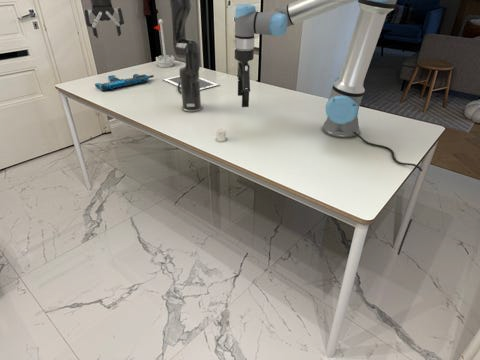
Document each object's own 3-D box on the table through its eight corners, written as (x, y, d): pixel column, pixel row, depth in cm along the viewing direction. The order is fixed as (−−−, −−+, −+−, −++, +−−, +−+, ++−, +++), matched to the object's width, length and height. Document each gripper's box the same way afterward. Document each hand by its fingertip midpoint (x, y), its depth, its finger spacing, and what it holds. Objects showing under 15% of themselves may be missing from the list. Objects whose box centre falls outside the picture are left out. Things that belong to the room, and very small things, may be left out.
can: (223, 142, 141) (223, 132, 139) (215, 140, 142) (215, 131, 140) (227, 138, 144) (226, 129, 142) (218, 137, 145) (218, 128, 143)
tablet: (162, 79, 213) (162, 79, 213) (189, 73, 224) (189, 73, 224) (191, 92, 193) (191, 91, 192) (219, 85, 204) (219, 84, 203)
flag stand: (173, 62, 250) (168, 17, 234) (176, 66, 240) (172, 20, 223) (155, 63, 246) (149, 18, 230) (158, 68, 236) (152, 21, 219)
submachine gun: (139, 68, 225) (158, 74, 208) (140, 74, 226) (158, 80, 210) (87, 78, 206) (103, 86, 189) (89, 84, 208) (104, 92, 191)
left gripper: (79, -7, 125) (90, 39, 133) (119, -9, 130) (127, 36, 139) (78, -9, 130) (88, 36, 139) (116, -10, 135) (124, 33, 144)
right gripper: (231, 42, 143) (231, 91, 154) (238, 57, 122) (237, 112, 134) (248, 42, 144) (247, 90, 155) (259, 56, 123) (256, 111, 135)
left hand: (108, 36), depth 139 cm, fingers open, 8 cm apart
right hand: (242, 101), depth 145 cm, fingers open, 13 cm apart
